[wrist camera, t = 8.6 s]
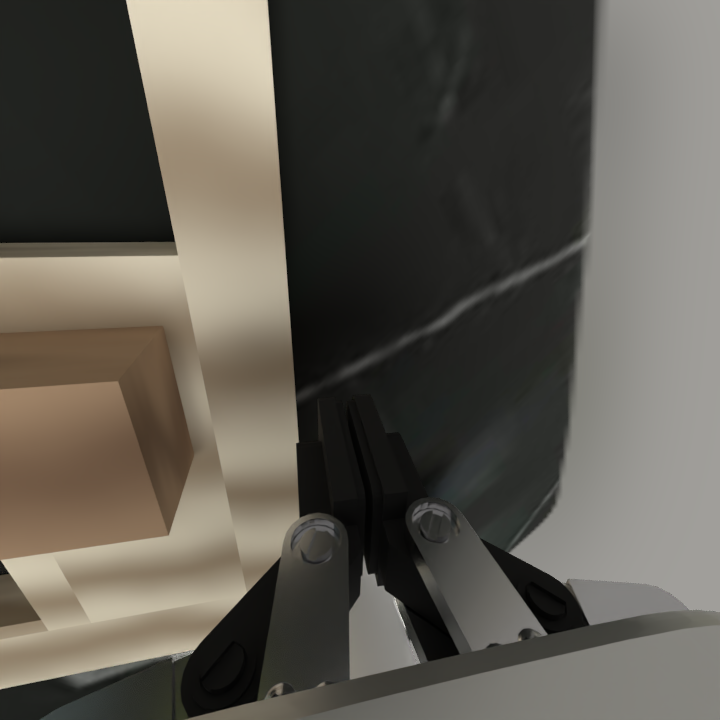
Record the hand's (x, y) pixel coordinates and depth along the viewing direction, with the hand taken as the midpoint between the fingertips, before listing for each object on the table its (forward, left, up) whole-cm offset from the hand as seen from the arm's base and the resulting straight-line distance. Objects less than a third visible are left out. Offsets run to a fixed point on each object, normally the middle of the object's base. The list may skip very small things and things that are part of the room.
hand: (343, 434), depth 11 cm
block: (-1, +9, -4) cm, 10 cm away
